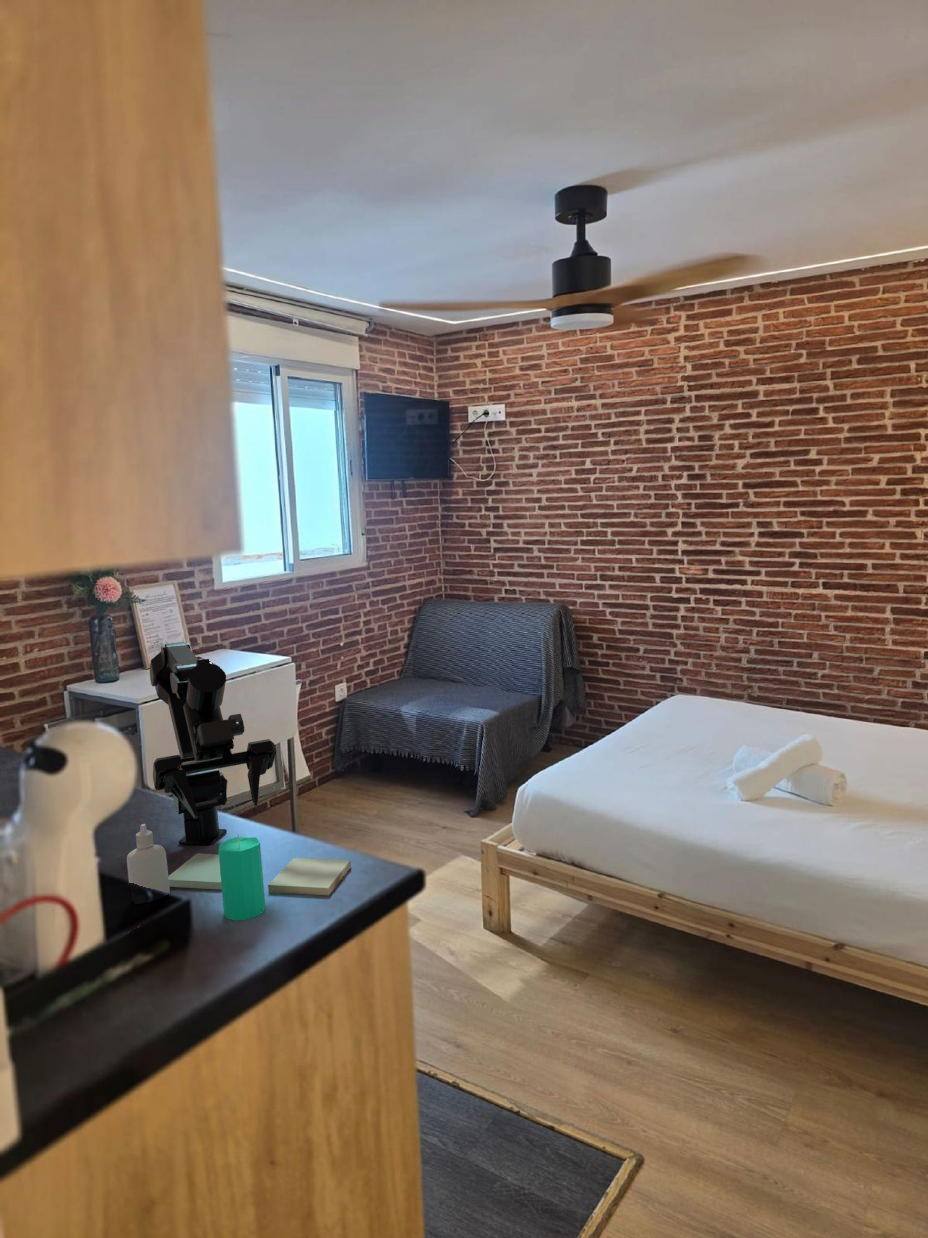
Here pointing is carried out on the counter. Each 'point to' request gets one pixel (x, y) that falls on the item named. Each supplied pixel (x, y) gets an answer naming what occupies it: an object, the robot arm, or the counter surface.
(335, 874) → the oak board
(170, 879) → the sage tile
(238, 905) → the candle
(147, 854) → the eye dropper bottle
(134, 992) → the counter surface
